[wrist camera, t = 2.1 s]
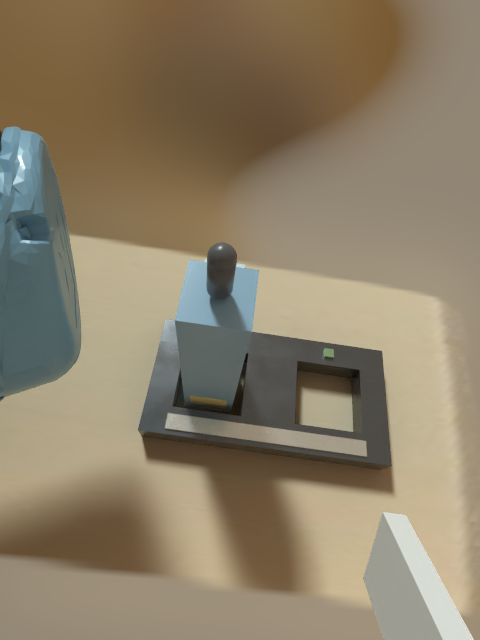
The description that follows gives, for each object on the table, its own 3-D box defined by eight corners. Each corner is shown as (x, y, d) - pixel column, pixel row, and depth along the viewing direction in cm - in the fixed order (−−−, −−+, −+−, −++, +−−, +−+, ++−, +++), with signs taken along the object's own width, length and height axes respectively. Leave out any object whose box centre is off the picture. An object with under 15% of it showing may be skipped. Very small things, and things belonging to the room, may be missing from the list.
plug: (184, 406, 32) (169, 277, 16) (194, 355, 35) (190, 198, 18) (230, 412, 32) (262, 291, 16) (237, 361, 35) (271, 210, 18)
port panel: (141, 435, 31) (137, 429, 29) (167, 329, 36) (165, 317, 34) (380, 469, 31) (393, 465, 29) (373, 359, 36) (383, 349, 34)
